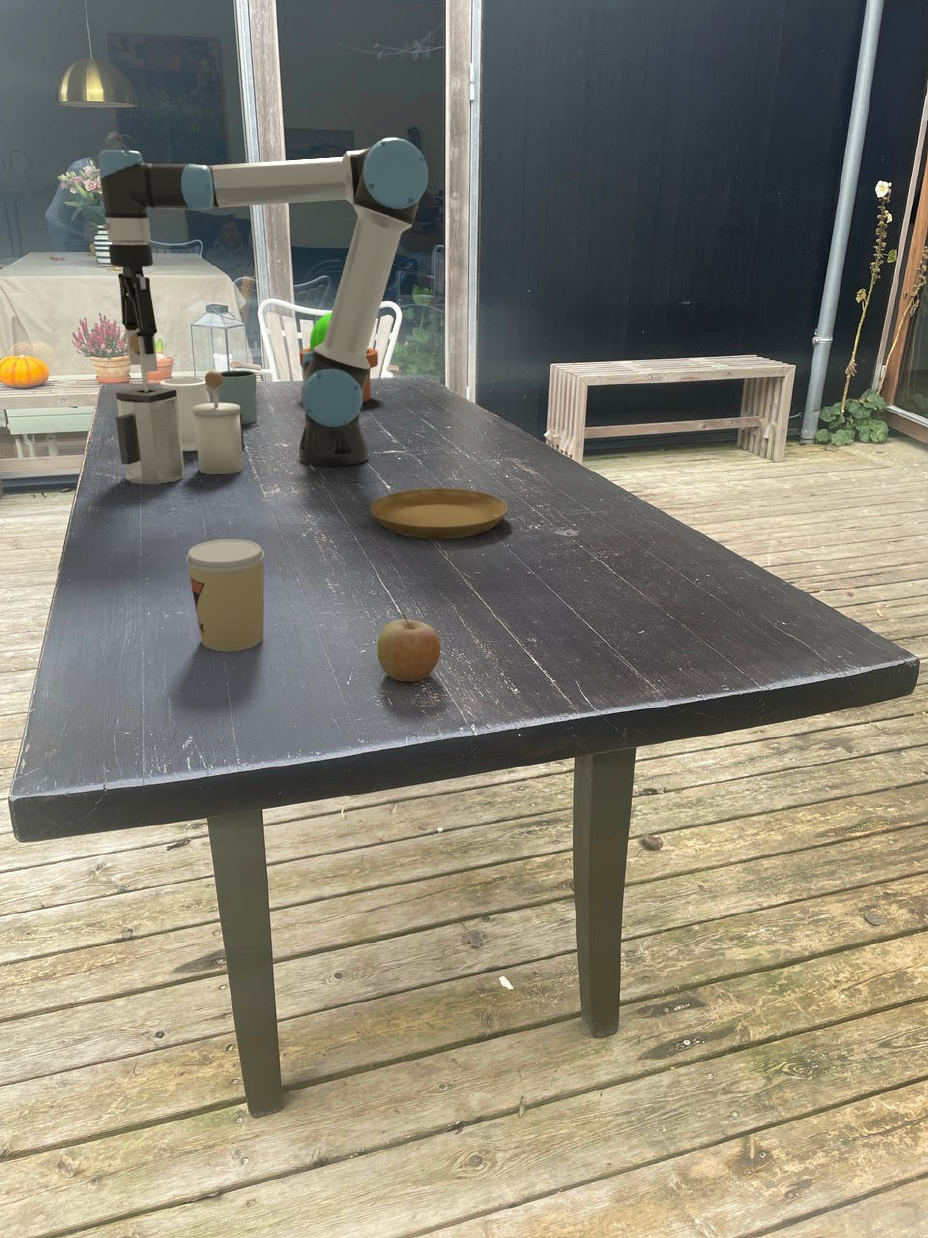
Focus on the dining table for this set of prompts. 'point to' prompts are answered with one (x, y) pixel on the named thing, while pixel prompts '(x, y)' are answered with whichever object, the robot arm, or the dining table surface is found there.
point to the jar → (188, 406)
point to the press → (150, 435)
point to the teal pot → (240, 392)
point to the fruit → (408, 649)
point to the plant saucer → (438, 512)
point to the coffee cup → (228, 593)
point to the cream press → (218, 432)
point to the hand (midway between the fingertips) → (143, 367)
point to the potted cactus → (318, 338)
